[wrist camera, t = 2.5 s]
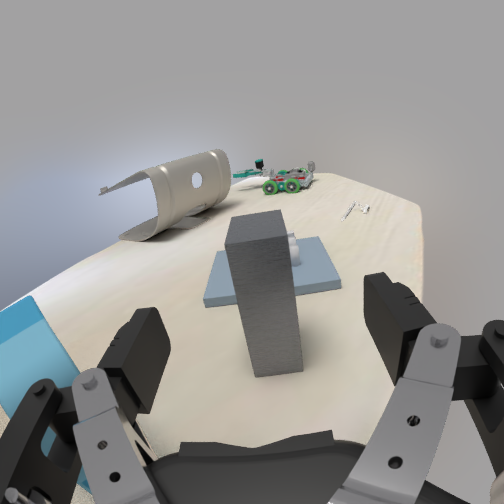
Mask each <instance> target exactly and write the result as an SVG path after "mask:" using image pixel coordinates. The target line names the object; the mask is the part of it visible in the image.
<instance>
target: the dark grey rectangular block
mask: <svg viewBox="0 0 504 504" xmlns="http://www.w3.org/2000/svg"><path fill="white" fill-rule="evenodd" d="M224 245H225V250H226V254H227V259H228V263H229V268H230V272H231V277H232V281H233V286H234V290H235V295H236V299H237V303H238V308H239V312H240V316H241V320H242V325H243V329H244V333H245V337H246V342H247V346H248V350H249V354H250V358H251V362H252V366H253V370H254V374H255V377H263V376H272V375H280V374H287V373H295V372H301V371H303V365H302V355H301V344H300V335H299V325H298V316H297V307H296V298H295V289H294V281H293V273H292V265H291V257H290V249H289V242H288V235H287V231H286V227H285V224H284V220H283V217H282V213H281V210H274V211H268V212H261V213H255V214H249V215H242V216H236V217H232V218H231V222H230V225H229V229H228V233H227V237H226V240H225V244H224Z"/></svg>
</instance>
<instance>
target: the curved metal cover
mask: <svg viewBox="0 0 504 504" xmlns="http://www.w3.org/2000/svg"><path fill="white" fill-rule="evenodd" d="M196 172H198V173H200V174H201V176H202V185H201V186H200V187H199V188H194V187H193V185H192V175H193V174H194V173H196ZM146 178H150V180H151V182H152V185H153V188H154V191H155V195H156V200H157V207H158V216H157V217H155V218H152V219H150V220H148V221H146V222H144V223H142V224H140V225H138V226H136V227H134V228H132V229H130V230H128V231H126V232H125V233H123V234H121V235H120V236H119V239H121V240H128V241H143V240H146V239H148V238H150V237H152V236H154V235H156V234H158V233H159V232H161V231H163V230H165V229H167V228H175V229H192V228H195V227H198V226H200V225H201V224H203V223H205V222H207V221H209V220H210V218H209V217H188V216H192V215H195V214H197V213H199V212H202V211H204V210H206V209H208V208H210V207H212V206H214V205H216V204H218V203H220V202H222V201H223V200H224V199H225V198H226V197H227V195H228V193H229V190H230V186H231V172H230V165H229V161H228V158H227V156H226V154H225V152H224V151H222V150H220V149H215V150H211V151H207V152H204V153H200V154H196V155H192V156H189V157H185V158H182V159H178V160H175V161H171V162H168V163H165V164H161V165H158V166H156V167H152V168H148V169H145V170H142V171H139V172H137V173H135V174H134V175H132V176H130V177H128V178H126V179H125V180H123V181H121V182H119V183H118V184H116V185H115V186H113V187H111V188H109V189H108V188H107V187H104V188H101V194H99V195H103V194H105V193H108V192H110V191H113V190H116V189H119V188H121V187H124V186H127V185H129V184H132V183H135V182H138V181H140V180H143V179H146ZM205 203H206V204H205ZM202 204H205V206H204V207H198V206H200V205H202Z"/></svg>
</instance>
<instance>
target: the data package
mask: <svg viewBox="0 0 504 504" xmlns="http://www.w3.org/2000/svg"><path fill="white" fill-rule="evenodd" d="M79 374H80V372H79V370H78V368H77V367H76V365H75V364H74V362H73V361H72V359H71V358H70V356H69V355H68V353H67V352H66V350H65V348H64V347H63V345H62V344H61V343H60V341H59V340H58V338H57V337H56V335H55V333H54V332H53V330H52V329H51V327H50V326H49V324H48V322H47V321H46V319H45V318H44V316H43V314H42V313H41V311H40V309H39V308H38V306H37V304H36V302H35V301H34V299H33V297H32V296H27V297H25V298H24V299H22V300H20V301H18V302H17V303H15V304H13V305H12V306H10V307H8V308H6V309H5V310H3V311H1V312H0V404H1V406H2V408H3V409H4V411H5V412H6V414H7V415H8V417H9V418H10V420H11V418H12V416H13V414H14V413H15V411H16V409H17V407H18V406H19V404H20V402H21V401H22V399H23V397H24V396H25V394H26V392H27V391H28V389H29V388H30V386H31V385H32V384H34V383H35V382H37V381H38V380H41V379H44V378H49V379H51V380H53V382H54V383H55V384H56V386H57V387H58V389H59V388H64V387H68V386H72V383H73V381H74V379H75V378H76V377H77V376H78V375H79ZM55 437H56V434H55V433H54V432H53V430H52V429H51V428H50V427H49V426H48V428H47V430H46V433H45V435H44V437H43V439H42V441H41V449H42V452H43V454H44V455H45V456H46V457H47V456H48V453H49V451H50V449H51V446H52V444H53V442H54V439H55ZM77 484H79V485H80V486H81V487H82V488H84V489H85V490H86V491H88V492H89V493H90V494H92V493H91V490H90V487H89V484H88V481H87V478H86V475H85V472H84V468H83V465H82V468H81V471H80V474H79V477H78V480H77Z"/></svg>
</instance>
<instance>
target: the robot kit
mask: <svg viewBox="0 0 504 504" xmlns="http://www.w3.org/2000/svg"><path fill="white" fill-rule="evenodd" d="M255 163H256V168H257V169H259V170H253V169H252V170H245V171H239V172H237V174H233V177H234V178H237V177H247V176H249V175H256V174H259V175H260V177H261V175H264V176H263V177H267V176H268V177H270V180H268V181H266V182H265V183H264V184H263V191H264V193H265V194H267V195H273V194H276V192H277V190H278V188H279V189H280V190H286V191H287V192H288V193H297V192H298V191H299V189H300V185H301V186H305V187H307V186H308V185H309V183H310V182H311V180H312V179H313V173H312V171H314V170H315V164H314V162H313V161H310V162H309V163H308V170H309V171H310V173H308V171H307V170H306V169H304V168H300V169H299V168H294V169H292V170H290V171H286V170H281V171H279V172H278V174H277V175H276V174H275V175H274V170H272V169H265V170H264V169H262V167H263V166H264V165H263V159H259V160H256V161H255ZM261 171H263V172H261ZM284 173H285V174H284ZM303 182H304V183H305V182H306V183H305V184H304V183H303ZM301 183H302V184H301ZM272 190H273V191H272Z"/></svg>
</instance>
